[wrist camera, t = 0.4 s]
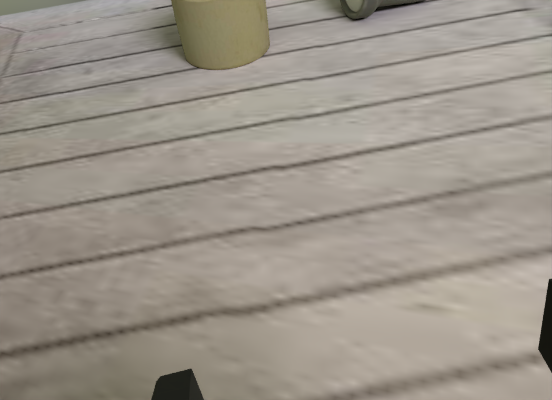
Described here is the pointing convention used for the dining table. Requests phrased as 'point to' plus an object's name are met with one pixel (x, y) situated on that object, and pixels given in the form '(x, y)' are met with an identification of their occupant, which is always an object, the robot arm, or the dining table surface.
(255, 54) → the sugar bowl
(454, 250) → the dining table surface
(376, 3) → the pipe fitting
